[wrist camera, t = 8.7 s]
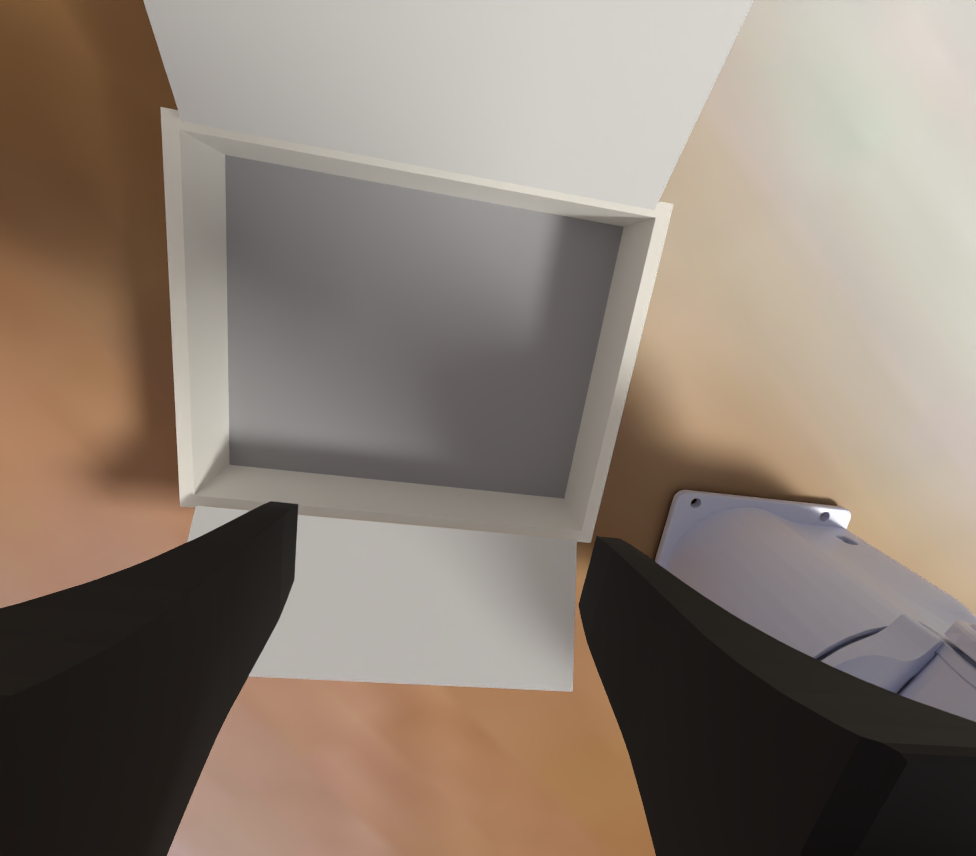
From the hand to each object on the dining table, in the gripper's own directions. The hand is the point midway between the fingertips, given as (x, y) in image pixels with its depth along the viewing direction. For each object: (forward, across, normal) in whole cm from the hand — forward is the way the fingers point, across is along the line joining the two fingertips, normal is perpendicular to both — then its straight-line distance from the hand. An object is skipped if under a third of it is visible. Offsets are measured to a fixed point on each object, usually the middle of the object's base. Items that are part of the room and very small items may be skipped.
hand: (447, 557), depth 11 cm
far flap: (+5, +2, +5) cm, 7 cm away
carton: (+10, +2, -3) cm, 11 cm away
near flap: (+5, +2, -12) cm, 13 cm away
